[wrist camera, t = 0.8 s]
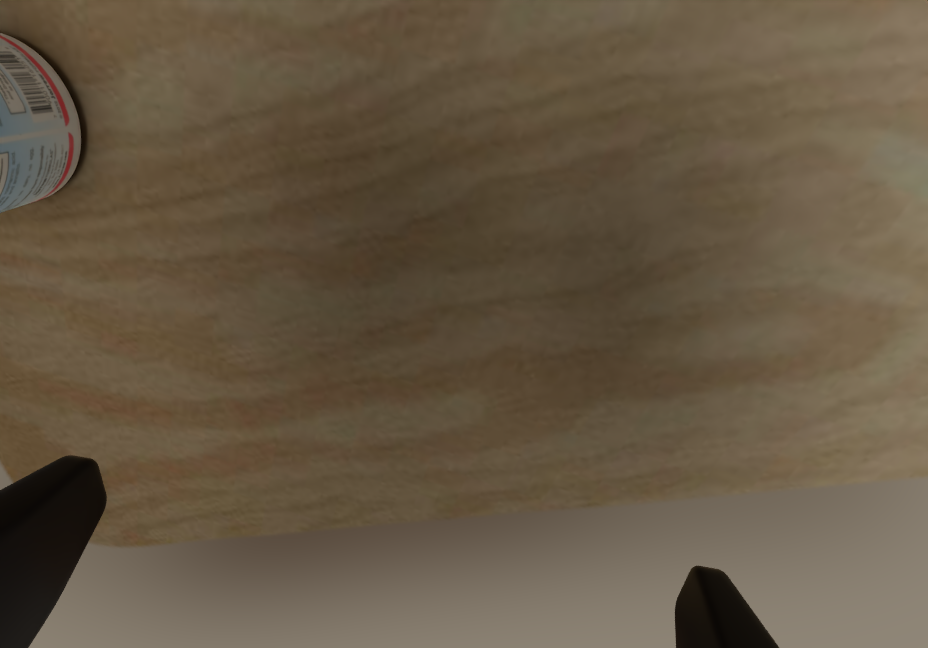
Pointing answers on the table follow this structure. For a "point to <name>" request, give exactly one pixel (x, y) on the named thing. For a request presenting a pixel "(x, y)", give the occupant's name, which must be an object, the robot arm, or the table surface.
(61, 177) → the pill bottle
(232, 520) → the table surface
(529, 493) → the table surface
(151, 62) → the table surface
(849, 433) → the table surface
